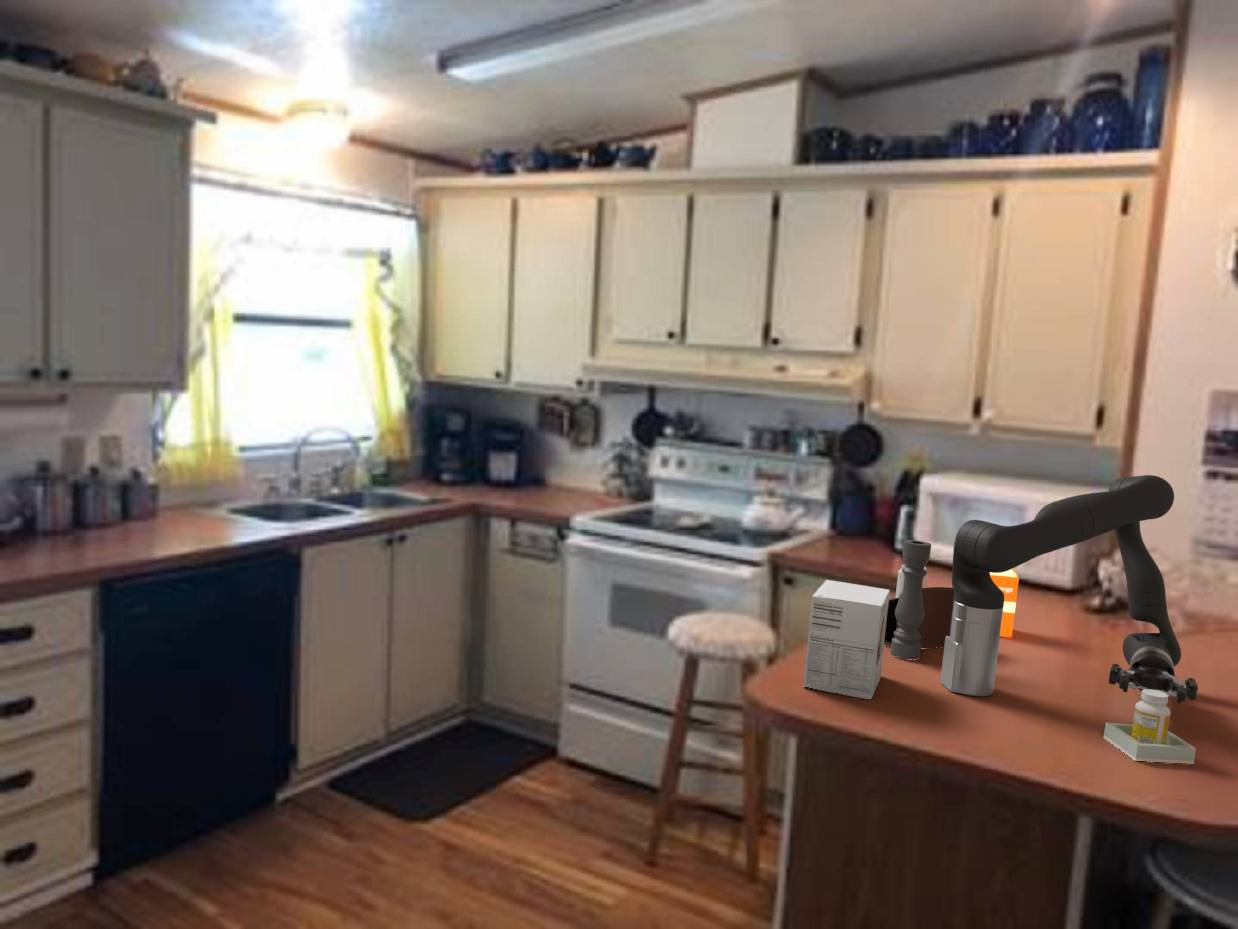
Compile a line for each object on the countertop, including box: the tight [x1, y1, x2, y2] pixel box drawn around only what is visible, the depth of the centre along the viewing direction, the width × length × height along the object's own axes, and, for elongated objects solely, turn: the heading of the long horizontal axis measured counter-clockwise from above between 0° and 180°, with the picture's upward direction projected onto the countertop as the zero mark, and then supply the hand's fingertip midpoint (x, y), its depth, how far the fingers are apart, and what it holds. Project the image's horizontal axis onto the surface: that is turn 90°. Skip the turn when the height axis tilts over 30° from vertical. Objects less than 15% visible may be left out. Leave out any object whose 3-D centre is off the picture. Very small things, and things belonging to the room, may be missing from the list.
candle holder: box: [889, 539, 932, 660], centre depth 216 cm, size 6×6×25 cm
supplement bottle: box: [1131, 689, 1171, 745], centre depth 171 cm, size 5×5×10 cm
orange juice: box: [990, 568, 1020, 638], centre depth 244 cm, size 8×9×20 cm
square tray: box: [1103, 722, 1197, 765], centre depth 171 cm, size 10×10×3 cm
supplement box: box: [803, 579, 891, 701], centre depth 196 cm, size 17×13×18 cm
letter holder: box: [884, 586, 954, 649], centre depth 228 cm, size 10×20×14 cm, turn 114°
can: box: [895, 563, 930, 598], centre depth 257 cm, size 8×8×12 cm
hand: (1152, 692), depth 179 cm, fingers open, 8 cm apart
